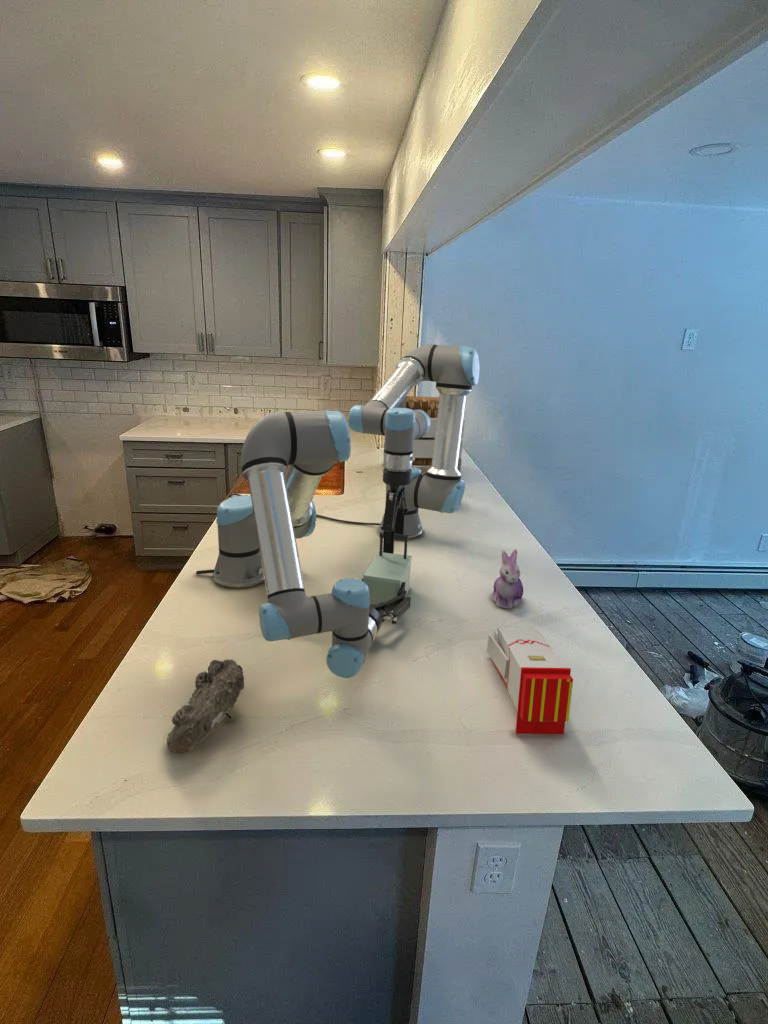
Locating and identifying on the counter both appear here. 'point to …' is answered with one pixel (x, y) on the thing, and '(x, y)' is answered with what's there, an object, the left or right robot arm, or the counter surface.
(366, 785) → the counter surface
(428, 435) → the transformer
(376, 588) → the chest
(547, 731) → the toy
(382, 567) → the lid
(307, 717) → the counter surface
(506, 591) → the figurine
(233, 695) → the fossil
